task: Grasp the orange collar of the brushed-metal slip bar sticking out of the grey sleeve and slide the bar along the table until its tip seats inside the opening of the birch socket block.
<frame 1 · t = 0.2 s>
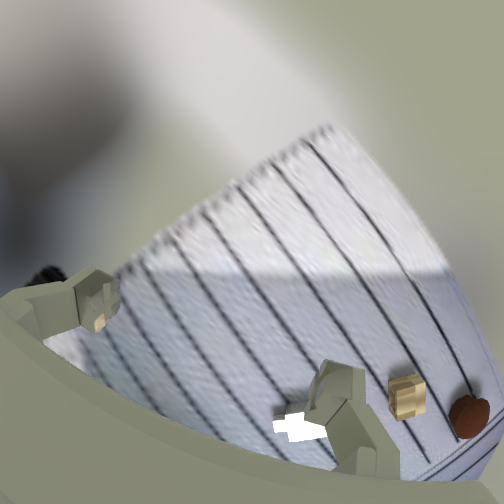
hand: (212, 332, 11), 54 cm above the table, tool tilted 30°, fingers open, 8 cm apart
outer sleeve: (305, 414, 61), on the table
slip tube: (317, 418, 58), point 3 cm above the table, slide at 0.0 cm
socket block: (402, 392, 59), on the table
muffin: (461, 409, 56), on the table
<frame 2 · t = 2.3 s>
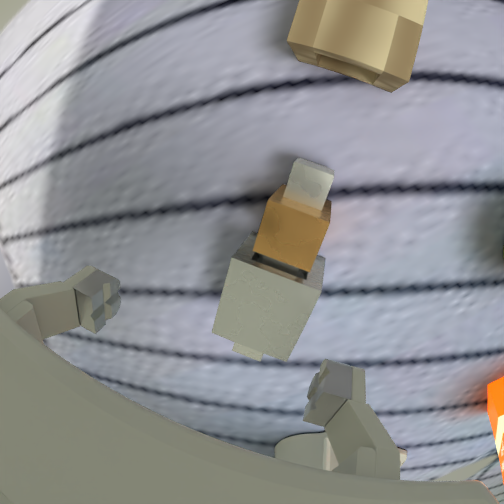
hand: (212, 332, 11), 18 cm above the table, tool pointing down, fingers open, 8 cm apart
outer sleeve: (276, 280, 30), on the table
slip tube: (277, 274, 26), point 3 cm above the table, slide at 0.0 cm
socket block: (355, 40, 19), on the table
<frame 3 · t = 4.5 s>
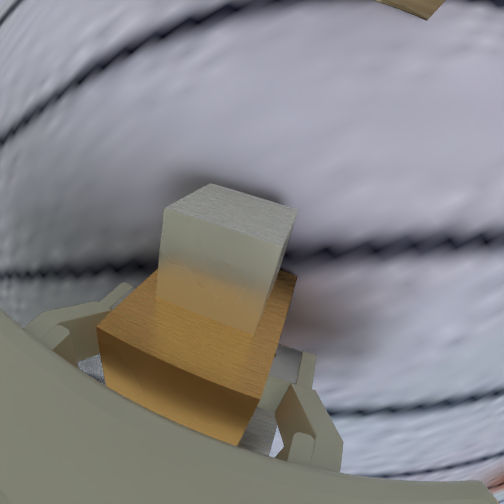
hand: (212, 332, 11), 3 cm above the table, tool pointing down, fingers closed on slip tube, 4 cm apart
outer sleeve: (210, 390, 16), on the table
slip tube: (193, 411, 12), point 3 cm above the table, slide at 0.0 cm, touching gripper
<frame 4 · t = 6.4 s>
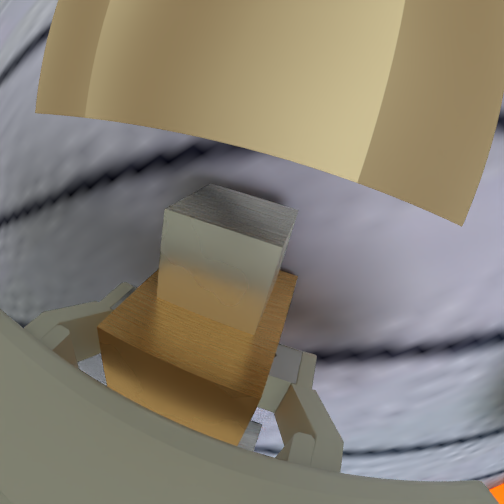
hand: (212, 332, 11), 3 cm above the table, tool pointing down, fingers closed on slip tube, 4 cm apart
outer sleeve: (201, 431, 19), on the table
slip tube: (193, 410, 12), point 3 cm above the table, slide at 5.7 cm, touching gripper
socket block: (302, 35, 8), on the table
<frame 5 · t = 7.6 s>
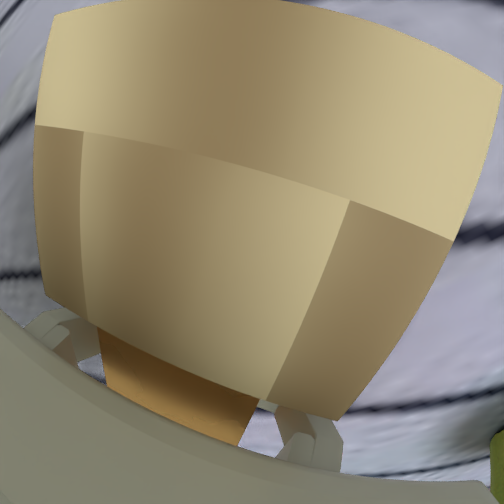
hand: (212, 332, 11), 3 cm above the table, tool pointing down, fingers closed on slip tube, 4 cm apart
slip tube: (193, 410, 12), point 3 cm above the table, slide at 10.5 cm, touching gripper
socket block: (268, 162, 10), on the table
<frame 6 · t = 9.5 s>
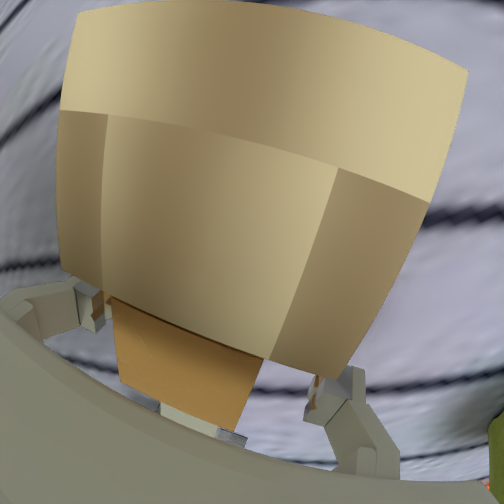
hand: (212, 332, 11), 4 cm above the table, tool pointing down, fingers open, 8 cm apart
outer sleeve: (198, 441, 22), on the table
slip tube: (197, 390, 13), point 3 cm above the table, slide at 10.4 cm
socket block: (269, 149, 11), on the table
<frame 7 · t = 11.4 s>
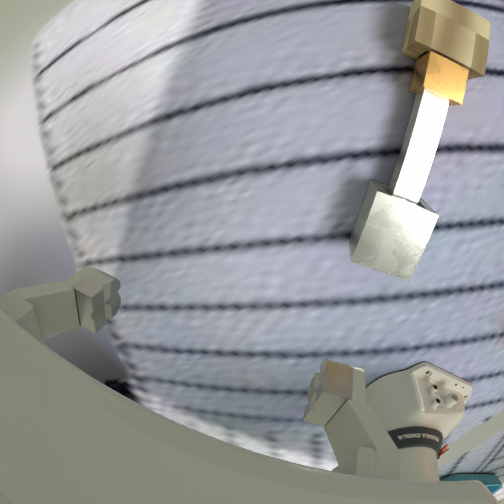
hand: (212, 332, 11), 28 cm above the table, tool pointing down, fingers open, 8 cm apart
outer sleeve: (386, 220, 34), on the table
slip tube: (428, 119, 25), point 3 cm above the table, slide at 10.4 cm
socket block: (437, 42, 23), on the table
casserole dish: (458, 483, 57), on the table
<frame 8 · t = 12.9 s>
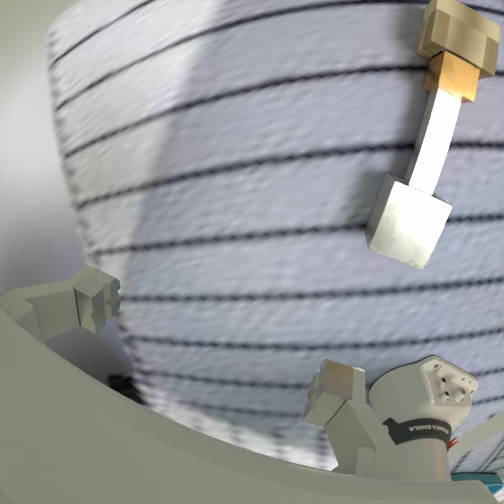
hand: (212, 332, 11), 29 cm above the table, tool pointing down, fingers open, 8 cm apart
outer sleeve: (400, 212, 34), on the table
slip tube: (441, 115, 25), point 3 cm above the table, slide at 10.4 cm
socket block: (449, 44, 24), on the table
casserole dish: (460, 483, 57), on the table
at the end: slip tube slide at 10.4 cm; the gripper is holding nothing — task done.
